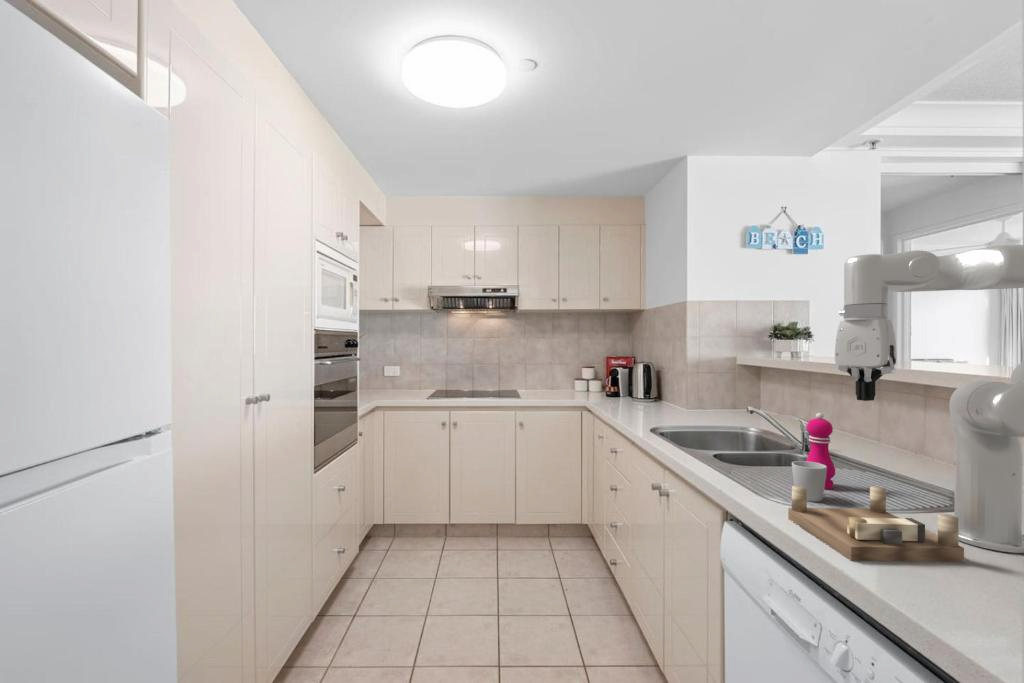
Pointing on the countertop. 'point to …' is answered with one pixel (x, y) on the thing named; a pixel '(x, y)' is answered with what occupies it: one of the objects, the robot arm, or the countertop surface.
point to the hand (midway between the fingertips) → (865, 399)
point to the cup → (810, 478)
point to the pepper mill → (821, 446)
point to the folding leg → (873, 526)
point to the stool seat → (891, 547)
